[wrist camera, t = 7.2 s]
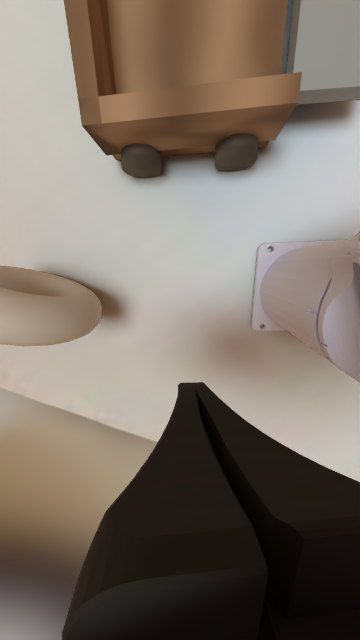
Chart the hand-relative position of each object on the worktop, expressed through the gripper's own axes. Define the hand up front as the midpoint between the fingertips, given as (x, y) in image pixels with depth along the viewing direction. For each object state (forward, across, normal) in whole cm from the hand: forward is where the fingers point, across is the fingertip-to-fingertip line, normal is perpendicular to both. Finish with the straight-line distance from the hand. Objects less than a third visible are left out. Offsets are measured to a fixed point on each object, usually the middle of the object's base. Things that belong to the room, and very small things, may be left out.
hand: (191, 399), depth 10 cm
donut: (+12, +11, -5) cm, 17 cm away
